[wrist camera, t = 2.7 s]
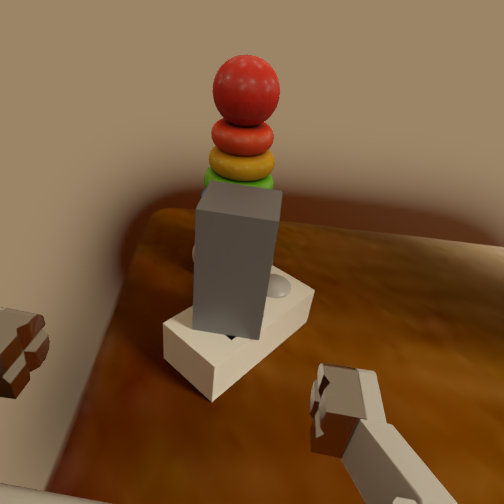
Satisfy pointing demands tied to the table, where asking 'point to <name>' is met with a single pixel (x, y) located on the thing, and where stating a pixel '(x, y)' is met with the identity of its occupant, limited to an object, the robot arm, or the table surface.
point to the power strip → (239, 349)
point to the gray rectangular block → (233, 258)
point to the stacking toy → (243, 123)
